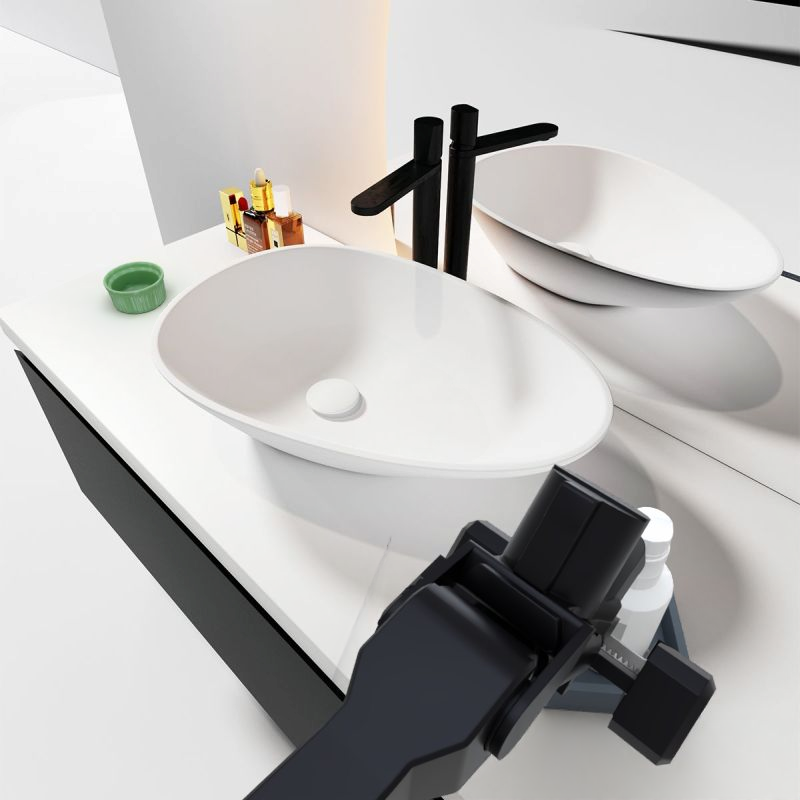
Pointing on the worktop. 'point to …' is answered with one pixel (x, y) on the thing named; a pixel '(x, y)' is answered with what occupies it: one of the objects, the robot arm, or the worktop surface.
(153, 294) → the ramekin
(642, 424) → the worktop surface
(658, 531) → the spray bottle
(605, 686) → the bin
